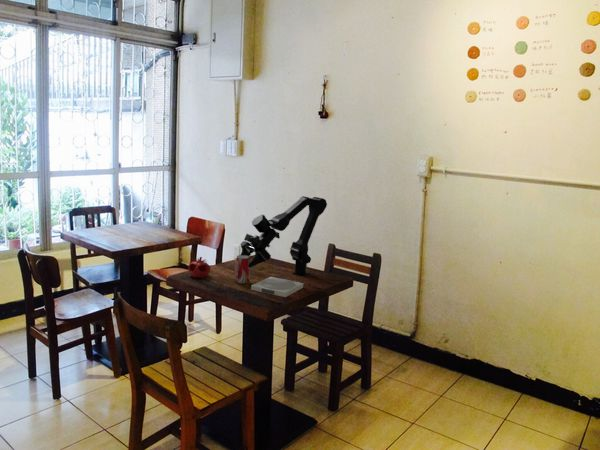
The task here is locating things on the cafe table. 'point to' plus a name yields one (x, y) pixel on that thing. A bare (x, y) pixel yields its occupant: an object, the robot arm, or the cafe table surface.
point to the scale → (277, 286)
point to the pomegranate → (199, 268)
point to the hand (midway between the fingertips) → (243, 264)
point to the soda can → (242, 269)
